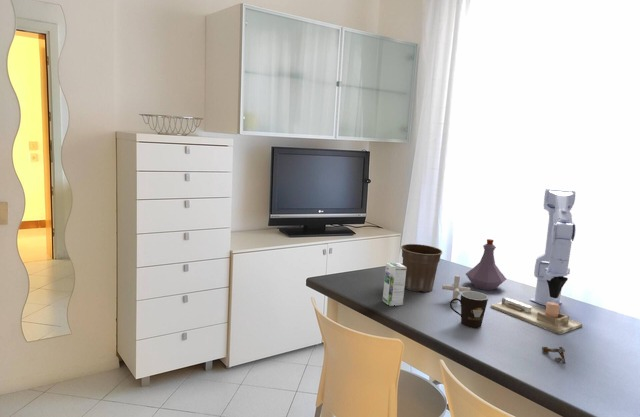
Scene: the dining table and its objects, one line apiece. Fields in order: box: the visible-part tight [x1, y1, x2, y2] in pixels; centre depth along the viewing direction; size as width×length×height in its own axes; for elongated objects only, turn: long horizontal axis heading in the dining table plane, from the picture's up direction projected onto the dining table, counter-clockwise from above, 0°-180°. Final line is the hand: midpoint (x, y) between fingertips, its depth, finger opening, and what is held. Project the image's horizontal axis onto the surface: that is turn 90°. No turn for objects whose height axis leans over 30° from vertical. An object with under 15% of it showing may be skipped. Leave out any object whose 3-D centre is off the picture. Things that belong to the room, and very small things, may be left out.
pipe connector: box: [441, 274, 471, 303], centre depth 176 cm, size 10×10×10 cm
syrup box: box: [382, 261, 406, 307], centre depth 170 cm, size 6×6×14 cm
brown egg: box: [545, 302, 561, 319], centre depth 160 cm, size 4×4×6 cm
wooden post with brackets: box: [541, 346, 566, 365], centre depth 134 cm, size 2×8×4 cm, turn 15°
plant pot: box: [400, 243, 443, 293], centre depth 189 cm, size 16×16×16 cm
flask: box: [465, 238, 507, 291], centre depth 196 cm, size 16×16×20 cm
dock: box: [490, 298, 583, 335], centre depth 166 cm, size 14×26×4 cm, turn 34°
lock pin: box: [501, 296, 532, 313], centre depth 171 cm, size 2×11×2 cm, turn 34°
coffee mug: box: [449, 290, 489, 329], centre depth 155 cm, size 12×9×10 cm
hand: (553, 297), depth 159 cm, fingers closed
